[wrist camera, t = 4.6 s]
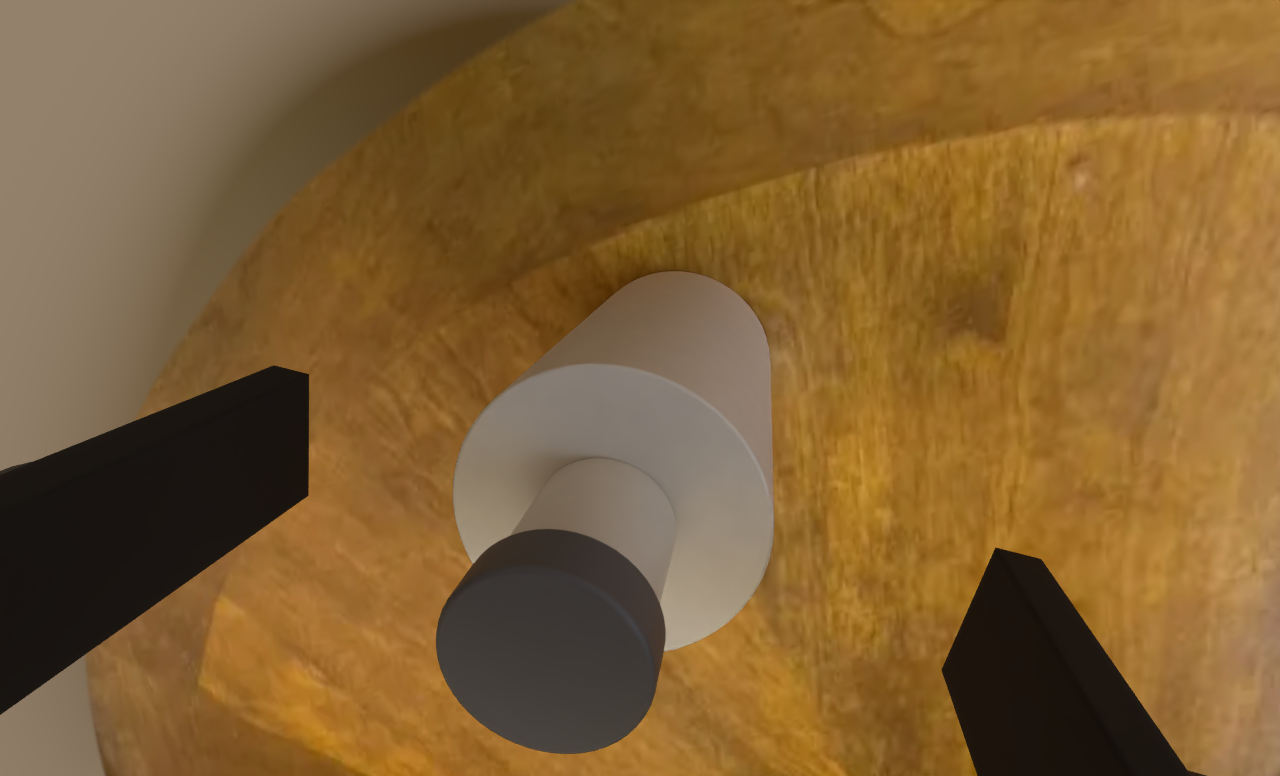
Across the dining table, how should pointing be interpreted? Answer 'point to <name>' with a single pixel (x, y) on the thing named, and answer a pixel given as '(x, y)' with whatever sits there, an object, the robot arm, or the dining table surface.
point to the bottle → (610, 513)
